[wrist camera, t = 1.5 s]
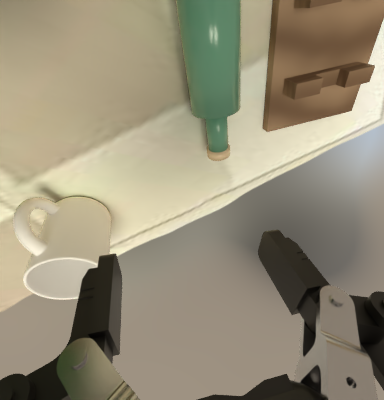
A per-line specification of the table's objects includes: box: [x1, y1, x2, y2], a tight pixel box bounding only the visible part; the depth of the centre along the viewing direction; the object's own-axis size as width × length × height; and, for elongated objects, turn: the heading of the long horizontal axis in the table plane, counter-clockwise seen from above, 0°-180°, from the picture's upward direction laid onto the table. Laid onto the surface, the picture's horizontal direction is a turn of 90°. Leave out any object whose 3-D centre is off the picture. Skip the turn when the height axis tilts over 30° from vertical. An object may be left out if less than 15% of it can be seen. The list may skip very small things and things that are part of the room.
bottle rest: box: [263, 0, 384, 132], centre depth 22 cm, size 18×12×4 cm, turn 9°
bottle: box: [176, 0, 241, 161], centre depth 22 cm, size 18×5×5 cm, turn 9°
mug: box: [13, 197, 111, 300], centre depth 27 cm, size 12×8×10 cm
